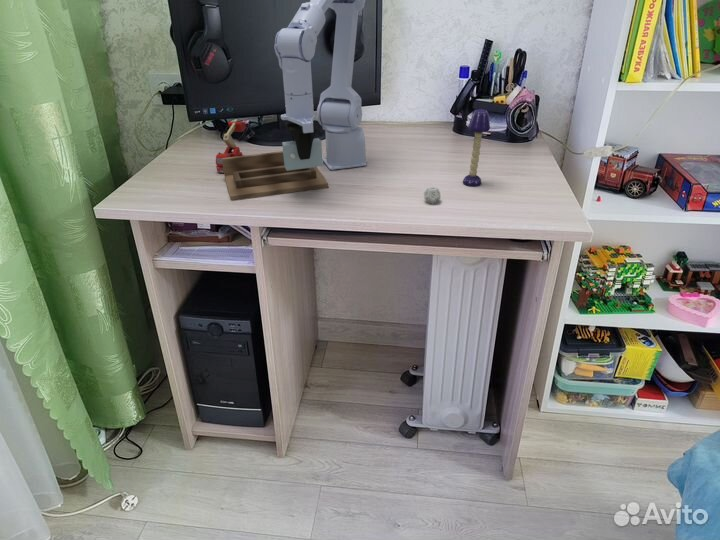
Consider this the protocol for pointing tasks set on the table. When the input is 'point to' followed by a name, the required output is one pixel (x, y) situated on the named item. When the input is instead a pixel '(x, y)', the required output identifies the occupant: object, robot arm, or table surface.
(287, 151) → the grey-blue rectangular block
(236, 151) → the toy fire truck
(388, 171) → the table surface
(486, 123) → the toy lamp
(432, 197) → the game die
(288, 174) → the track base
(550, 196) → the table surface
